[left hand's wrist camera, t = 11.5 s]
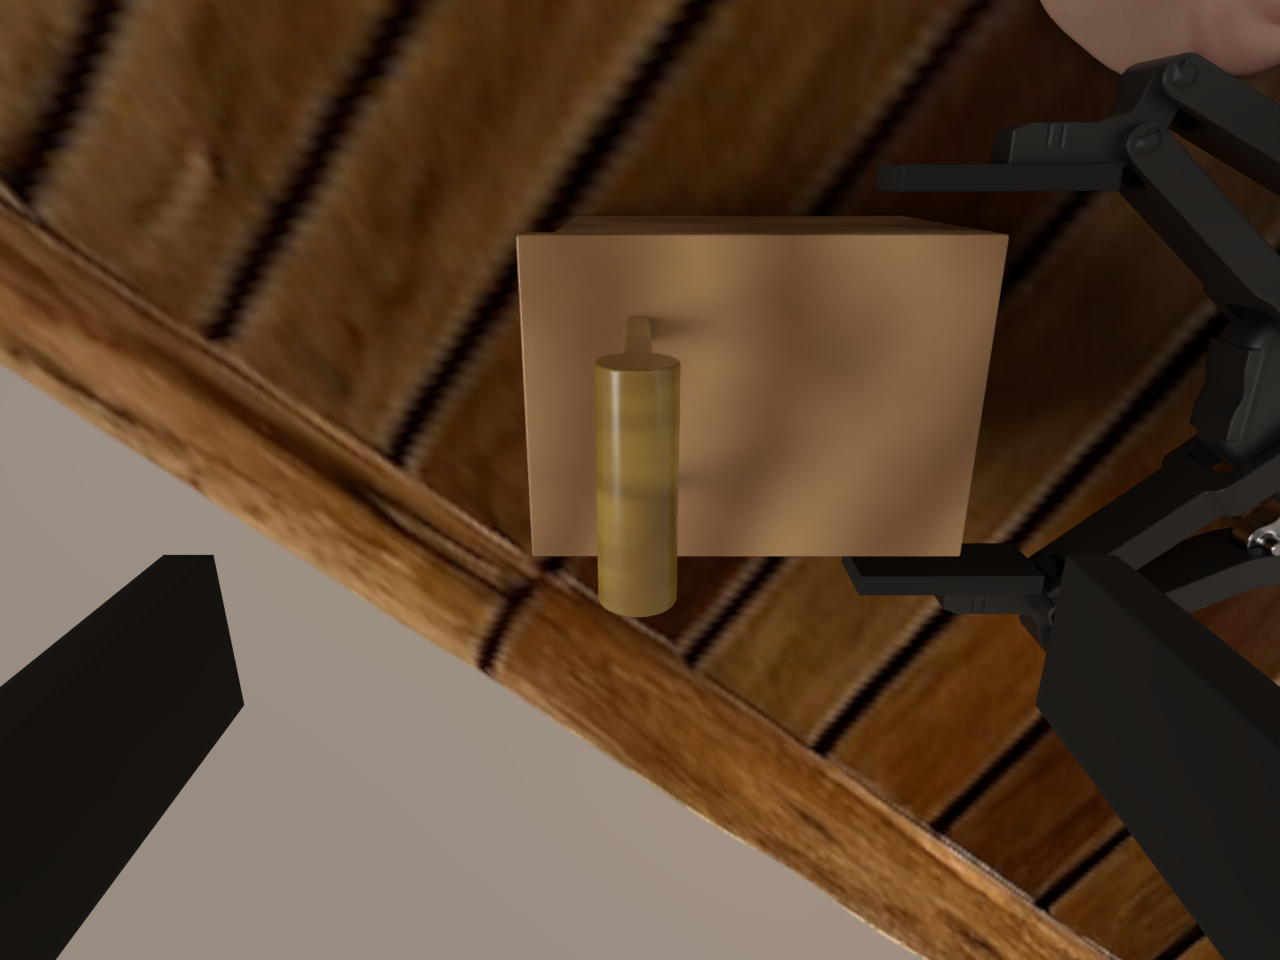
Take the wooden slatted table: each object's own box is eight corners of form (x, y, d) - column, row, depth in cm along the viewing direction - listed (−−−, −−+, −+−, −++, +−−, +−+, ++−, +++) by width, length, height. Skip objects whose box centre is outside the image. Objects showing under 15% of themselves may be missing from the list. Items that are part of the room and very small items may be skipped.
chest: (582, 456, 36) (564, 545, 27) (576, 215, 32) (553, 232, 24) (877, 456, 36) (951, 545, 27) (903, 215, 32) (997, 232, 24)
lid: (535, 545, 27) (492, 696, 20) (519, 232, 24) (459, 262, 16) (951, 545, 27) (1076, 697, 20) (998, 232, 24) (1173, 262, 16)
